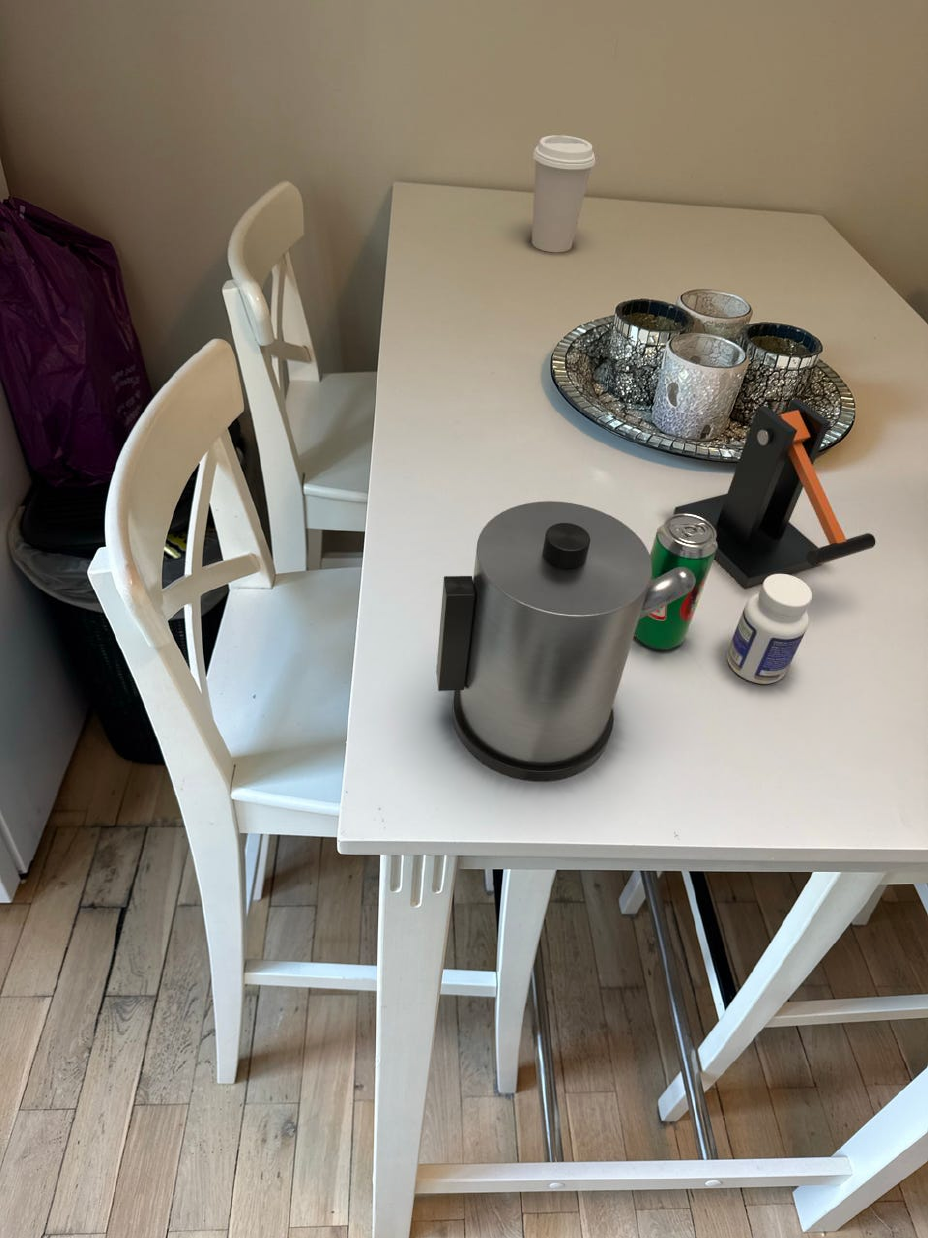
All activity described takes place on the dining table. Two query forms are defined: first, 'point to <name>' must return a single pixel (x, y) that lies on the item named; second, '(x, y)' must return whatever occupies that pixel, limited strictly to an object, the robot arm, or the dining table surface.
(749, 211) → the dining table surface
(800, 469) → the orange switch lever
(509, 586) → the kettle
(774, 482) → the switch bracket
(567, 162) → the coffee cup
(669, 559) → the soda can
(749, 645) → the pill bottle
